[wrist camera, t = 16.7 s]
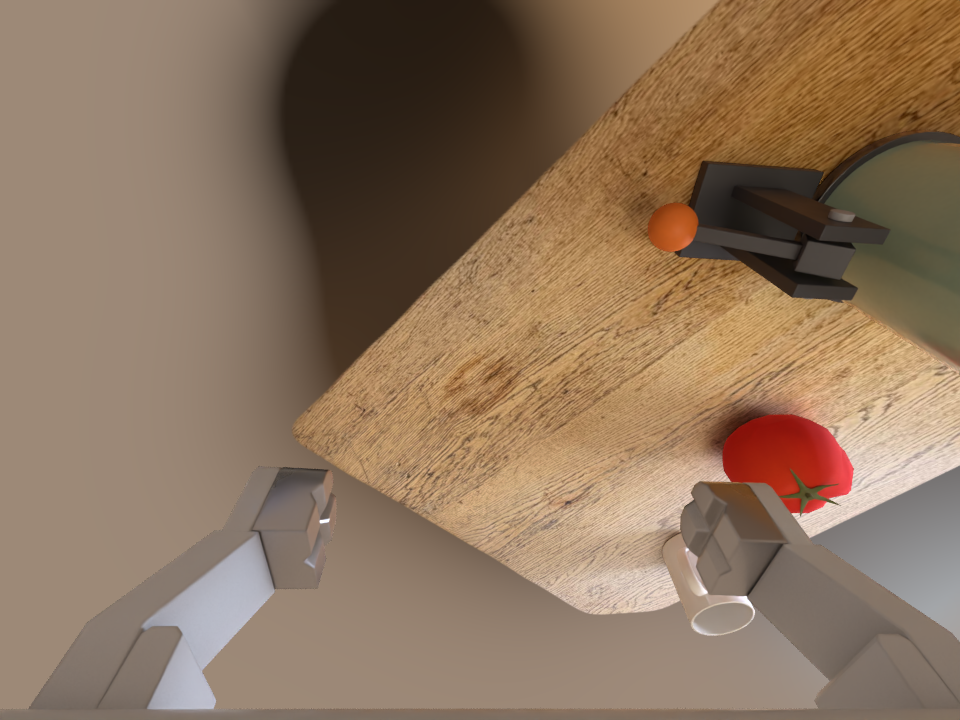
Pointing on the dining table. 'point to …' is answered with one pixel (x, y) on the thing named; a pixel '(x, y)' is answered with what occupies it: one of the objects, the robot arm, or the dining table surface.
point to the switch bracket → (775, 221)
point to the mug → (703, 594)
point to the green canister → (906, 237)
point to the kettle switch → (748, 242)
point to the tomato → (789, 460)
